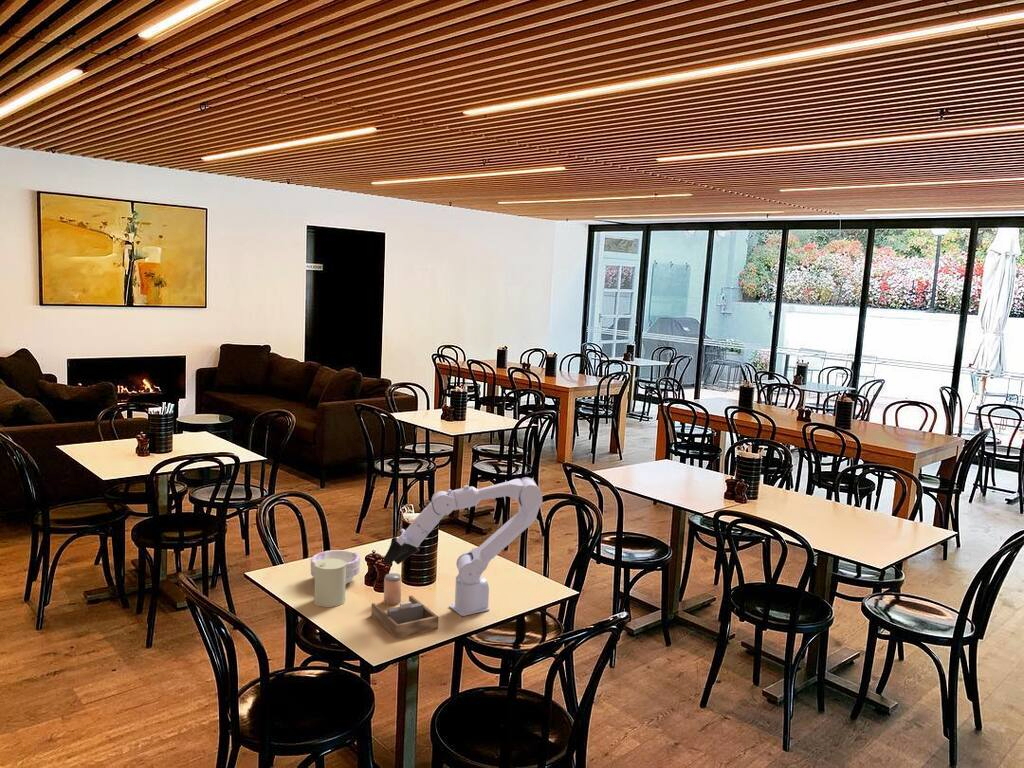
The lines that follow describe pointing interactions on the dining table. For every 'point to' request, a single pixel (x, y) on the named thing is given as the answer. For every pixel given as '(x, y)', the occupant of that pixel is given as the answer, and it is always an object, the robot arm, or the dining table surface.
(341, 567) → the can
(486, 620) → the dining table surface
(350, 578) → the paper bowls
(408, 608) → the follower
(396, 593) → the jar
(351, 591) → the dining table surface
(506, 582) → the dining table surface
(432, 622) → the brown wooden tray
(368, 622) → the dining table surface
